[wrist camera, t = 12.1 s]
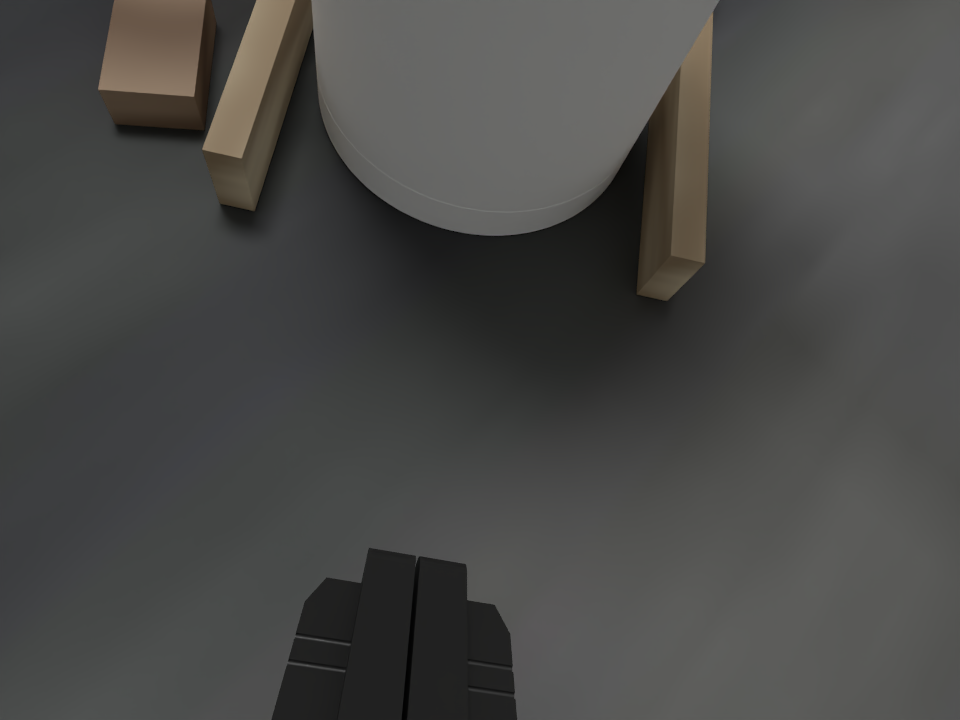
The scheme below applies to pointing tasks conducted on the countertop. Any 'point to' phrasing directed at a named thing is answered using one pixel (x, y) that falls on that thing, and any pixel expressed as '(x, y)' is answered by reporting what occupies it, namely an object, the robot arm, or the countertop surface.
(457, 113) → the cylinder
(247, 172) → the cradle
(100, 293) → the countertop surface
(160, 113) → the brown block piece
